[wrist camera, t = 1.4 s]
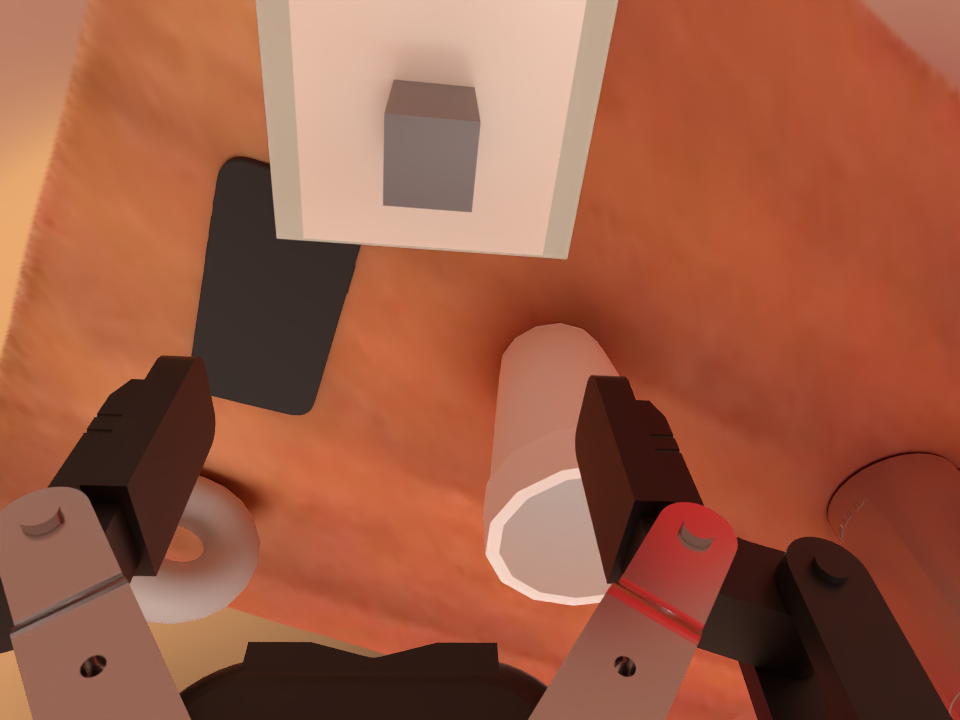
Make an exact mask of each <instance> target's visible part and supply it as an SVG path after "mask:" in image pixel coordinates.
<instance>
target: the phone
mask: <svg viewBox="0 0 960 720" xmlns="http://www.w3.org/2000/svg"><path fill="white" fill-rule="evenodd" d="M359 249H360V244H346V243H332V242H318V241H304V240H290V239H277V237H276V226H275V214H274V203H273V192H272V181H271V169H270V164H267V163H264V162H261V161H258V160H254V159H251V158H247V157H234V158H231V159H229V160H228V161H227V162H226V163H225V164H224V165H223V166H222V168H221V169H220V171H219V174H218V178H217V183H216V190H215V196H214V201H213V211H212V216H211V222H210V229H209V239H208V243H207V250H206V256H205V266H204V273H203V280H202V287H201V294H200V301H199V308H198V315H197V322H196V329H195V336H194V343H193V350H192V357H200V358H202V359H203V361H204V364H205V367H206V372H207V377H208V383H209V388H210V393H211V396H215V397H219V398H223V399H227V400H231V401H235V402H239V403H244V404H248V405H252V406H256V407H260V408H264V409H268V410H273V411H277V412H281V413H285V414H290V415H303V414H306V413H307V412H309V411H310V410H311V409H312V407H313V405H314V402H315V399H316V395H317V392H318V388H319V385H320V382H321V378H322V375H323V371H324V368H325V365H326V361H327V358H328V354H329V351H330V348H331V344H332V341H333V337H334V334H335V331H336V327H337V324H338V320H339V317H340V313H341V310H342V307H343V303H344V300H345V296H346V293H348V289H349V286H350V282H351V279H352V276H353V272H354V269H355V262H356V259H357V256H358V252H359Z"/></svg>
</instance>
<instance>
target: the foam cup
mask: <svg viewBox="0 0 960 720" xmlns="http://www.w3.org/2000/svg"><path fill="white" fill-rule="evenodd" d="M591 375H602V376H619V374H618V372H617V371H616V369H615V368H614V366H613V365H612V363H611V361H610V360H609V358H608V357H607V355H606V353H605V352H604V350H603V349H602V347H601V346H599V343H598V342H597V341H596V340H595V339H594V338H593V337H592V336H590V335H589V334H588V333H587V332H586V331H585V330H583V329H582V328H578V327H574V326H570V325H566V324H562V323H556V324H548V325H541V326H535V327H534V328H532V329H530V330H528V331H526V332H525V333H523V334H521V335H519V336H518V337H516V338H515V339H514V340H513V341H512V343H511V344H510V345H509V347H508V348H507V349H506V351H505V352H504V354H503V355H502V360H501V368H500V375H499V384H498V395H497V406H496V417H495V429H494V440H493V451H492V462H491V473H490V479H489V481H488V482H487V486H486V494H485V501H484V509H483V525H484V540H485V555H486V557H487V558H488V560H489V562H490V563H491V565H492V567H493V568H494V570H495V572H496V573H497V575H498V577H499V578H500V580H501V582H503V583H505V584H506V585H508V586H510V587H512V588H514V589H515V590H517V591H519V592H521V593H523V594H524V595H526V596H528V597H530V598H532V599H534V600H541V601H547V602H554V603H560V604H566V605H573V606H575V605H583V604H592V603H600V602H601V600H602V598H603V597H604V595H605V593H606V592H607V590H608V589H609V587H610V586H611V584H607V582H606V578H605V574H604V570H603V565H602V561H601V557H600V553H599V549H598V545H597V541H596V537H595V533H594V528H593V524H592V520H591V516H590V512H589V508H588V504H587V500H586V496H585V491H584V487H583V483H582V479H581V475H580V471H579V467H578V463H577V459H576V453H575V434H576V428H577V423H578V419H579V415H580V410H581V406H582V402H583V398H584V393H585V389H586V385H587V381H588V379H589V377H590V376H591Z"/></svg>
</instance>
